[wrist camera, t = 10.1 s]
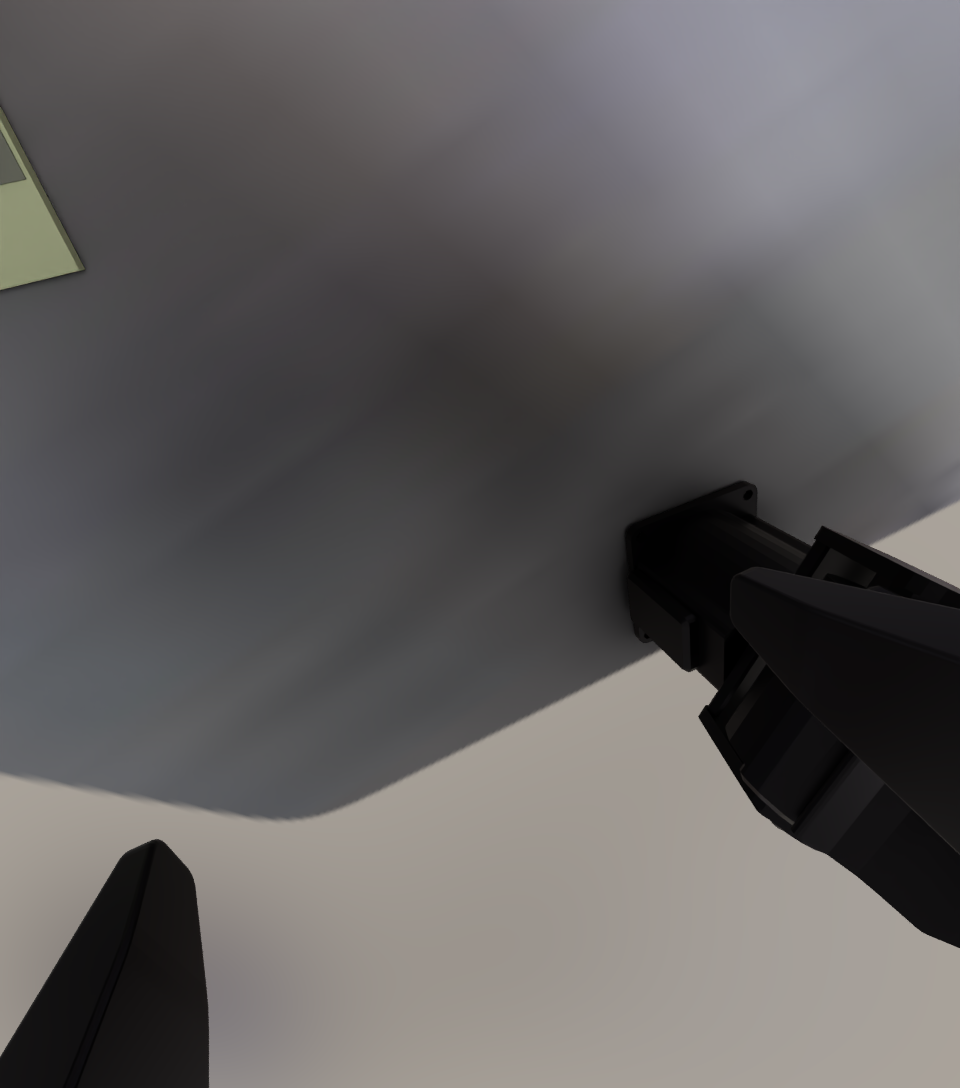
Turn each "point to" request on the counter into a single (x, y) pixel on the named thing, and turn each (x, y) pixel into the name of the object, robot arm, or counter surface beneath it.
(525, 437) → the counter surface
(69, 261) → the green floppy disk
